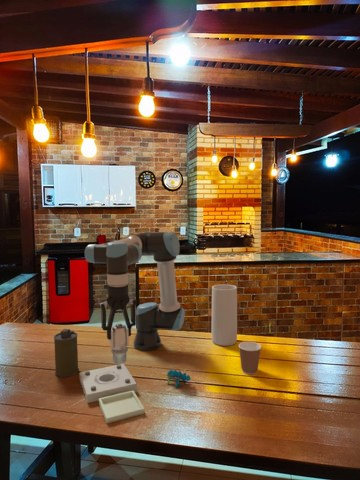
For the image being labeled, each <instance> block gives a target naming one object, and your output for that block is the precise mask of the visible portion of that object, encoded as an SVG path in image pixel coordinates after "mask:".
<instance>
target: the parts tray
mask: <svg viewBox="0 0 360 480" xmlns="http://www.w3.org/2000/svg"><path fill="white" fill-rule="evenodd" d="M98 404H99V408H100V410H101V413H102V416H103V418H104V421H105V423H106V425H107V424H112V423H115V422H119V421H123V420H125V419H129V418H133V417H138V416H141V415H144V414H145V406H144V405H143V403H142V402H141V401H140V399H139V397H138V396H137V394H136V392H134V391H129V392H124V393H120V394H116V395H112V396H107V397H103V398H99V401H98Z"/></svg>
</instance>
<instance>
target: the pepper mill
mask: <svg viewBox="0 0 360 480" xmlns="http://www.w3.org/2000/svg"><path fill="white" fill-rule="evenodd" d="M126 327H127V325H125V324H122V323H117V324H115V325H112V330H113V340H114V349H111V348H110V349H111V350H110V352H111V353H112V363H114V364H115V365H120V364H125V363H126V362H127V352H128V346H126Z"/></svg>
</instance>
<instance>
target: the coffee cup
mask: <svg viewBox="0 0 360 480" xmlns="http://www.w3.org/2000/svg"><path fill="white" fill-rule="evenodd" d="M238 349H239V358H240V368H241V371H242V373H244V374H247V375H255V374H257V372H258V369H259V363H260V355H261V349H262V345H261V344H259V343H257V342H254V341H243V342H240V343H239V344H238Z"/></svg>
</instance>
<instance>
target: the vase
mask: <svg viewBox="0 0 360 480" xmlns="http://www.w3.org/2000/svg"><path fill="white" fill-rule="evenodd" d="M210 333H211V334H210V335H211V342H212V343H213V344H215V345H217V346H221V347H227V346H234V345H235V344H236V343H237V340H238V287H237V285H234V284H224V283H223V284H215V285H212V286H211V332H210Z"/></svg>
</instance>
